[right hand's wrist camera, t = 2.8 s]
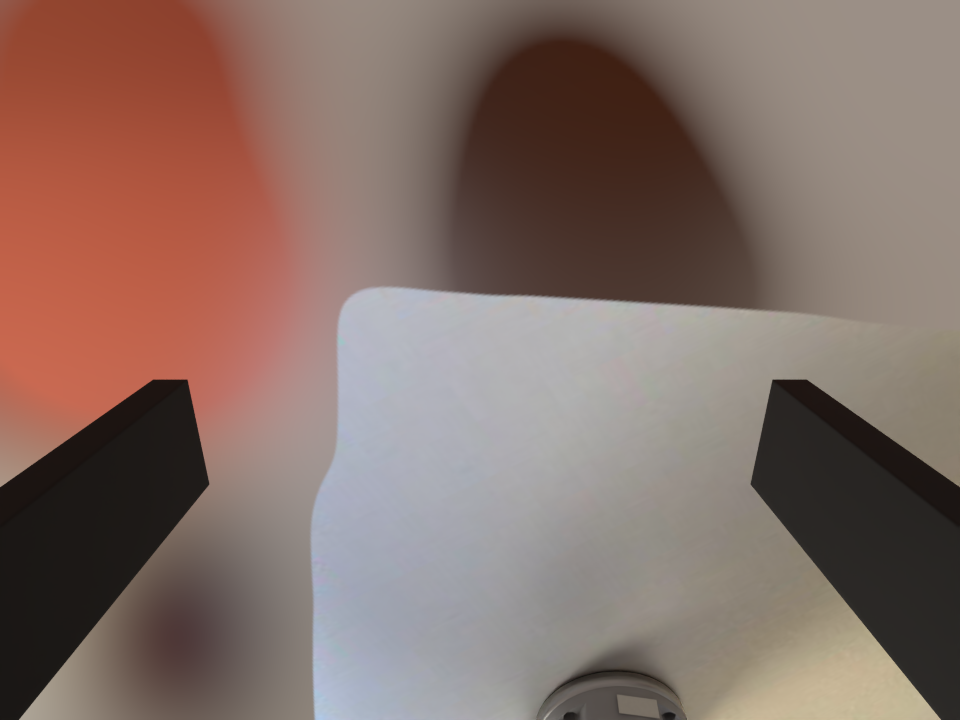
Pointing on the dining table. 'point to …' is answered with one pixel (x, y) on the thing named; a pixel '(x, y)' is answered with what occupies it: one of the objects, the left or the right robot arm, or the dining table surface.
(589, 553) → the dining table surface
